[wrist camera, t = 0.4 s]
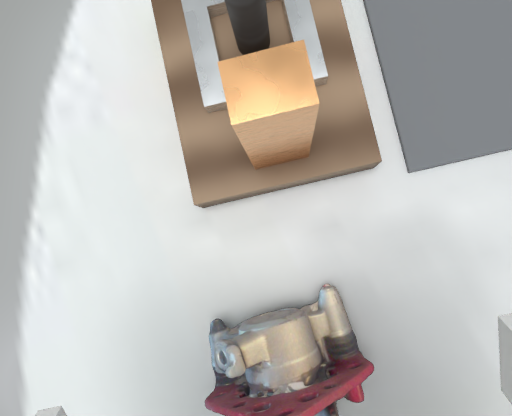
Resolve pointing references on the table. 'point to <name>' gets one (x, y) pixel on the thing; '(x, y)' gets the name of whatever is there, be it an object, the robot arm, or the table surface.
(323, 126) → the wooden peg stand
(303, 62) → the square frame with handle
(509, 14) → the rubber mat
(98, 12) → the table surface
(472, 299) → the table surface
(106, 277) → the table surface
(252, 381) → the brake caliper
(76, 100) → the table surface
